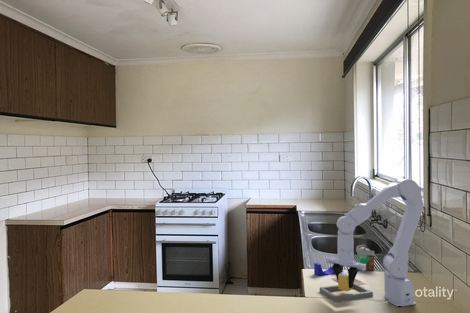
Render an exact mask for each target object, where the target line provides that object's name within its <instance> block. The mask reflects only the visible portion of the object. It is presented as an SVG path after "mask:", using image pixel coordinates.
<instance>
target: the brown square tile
mask: <svg viewBox="0 0 470 313" xmlns="http://www.w3.org/2000/svg"><path fill="white" fill-rule="evenodd" d="M331 280H332V281H334V282H335V283H337V284H338V281H337V277H334V278H331ZM354 283H356V284H358V285H360V286H363V285H366V282H363V281H361V280H359V279H357V278H355V280H354Z"/></svg>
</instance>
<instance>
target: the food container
mask: <svg viewBox="0 0 470 313" xmlns="http://www.w3.org/2000/svg"><path fill="white" fill-rule="evenodd" d="M355 252H356V253H357V262H359V263H362V264H366V270H367V271H373V272H374V271H375V269H374V268H375V257H376V256H375V250H371V249H370V248H368V247H366V244H360V245H357V246H356V250H355Z"/></svg>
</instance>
